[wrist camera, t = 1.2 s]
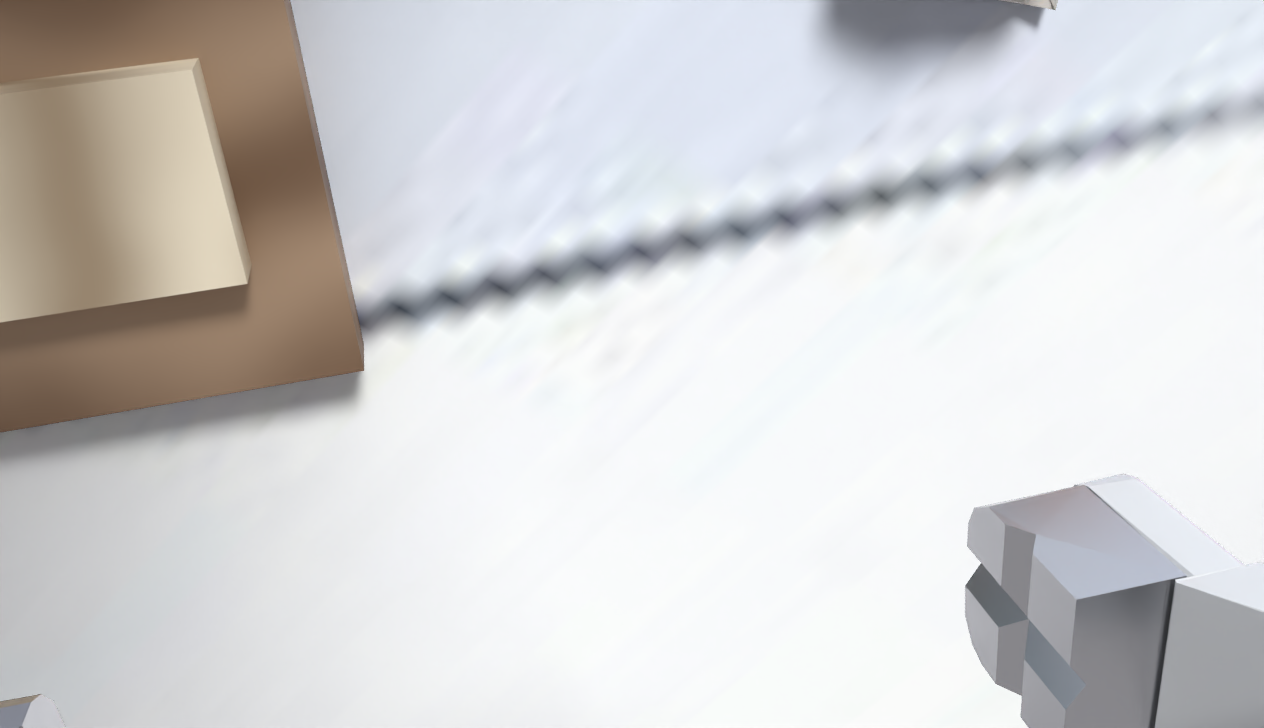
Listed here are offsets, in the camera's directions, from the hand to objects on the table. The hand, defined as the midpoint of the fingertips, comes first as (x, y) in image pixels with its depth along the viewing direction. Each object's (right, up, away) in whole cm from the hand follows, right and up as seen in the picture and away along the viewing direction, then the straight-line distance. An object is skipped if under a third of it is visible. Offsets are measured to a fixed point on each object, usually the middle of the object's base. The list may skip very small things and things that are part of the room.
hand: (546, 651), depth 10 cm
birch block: (-15, +7, +21) cm, 27 cm away
